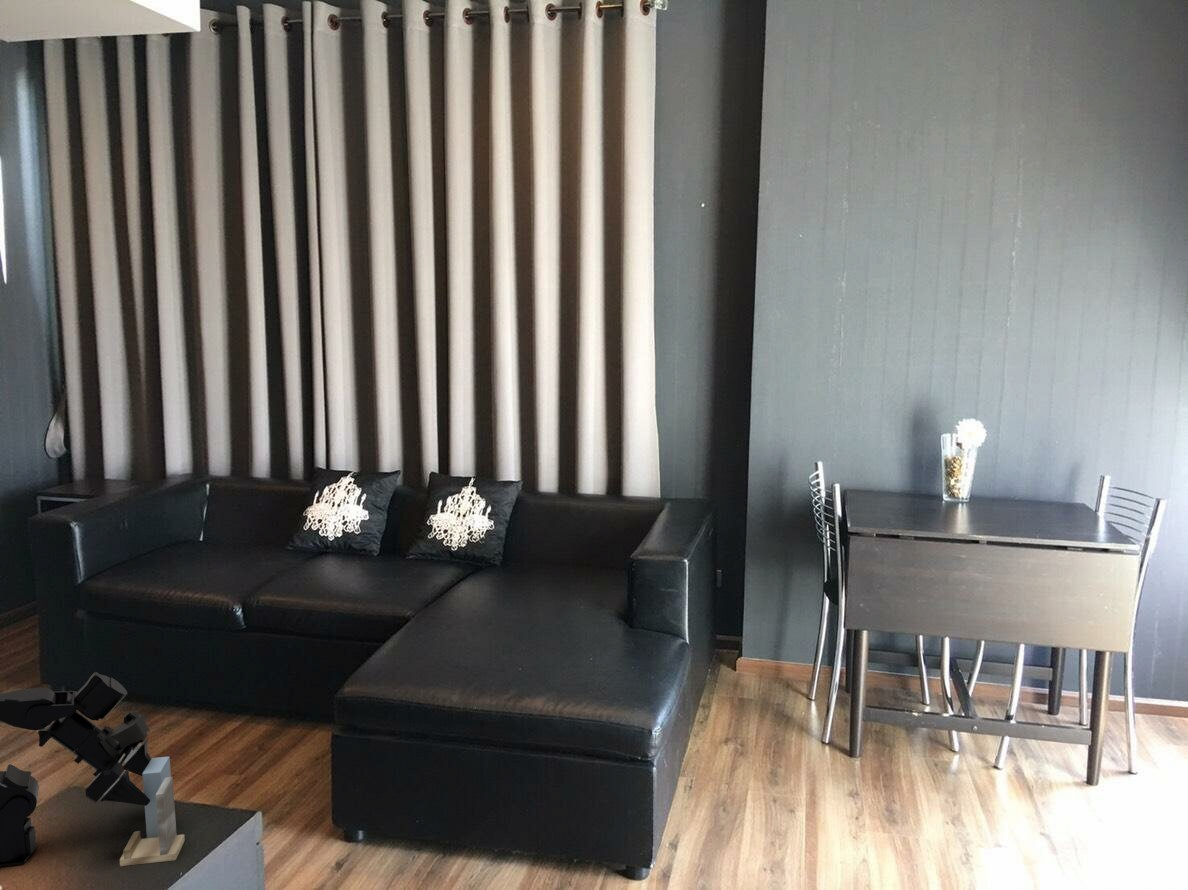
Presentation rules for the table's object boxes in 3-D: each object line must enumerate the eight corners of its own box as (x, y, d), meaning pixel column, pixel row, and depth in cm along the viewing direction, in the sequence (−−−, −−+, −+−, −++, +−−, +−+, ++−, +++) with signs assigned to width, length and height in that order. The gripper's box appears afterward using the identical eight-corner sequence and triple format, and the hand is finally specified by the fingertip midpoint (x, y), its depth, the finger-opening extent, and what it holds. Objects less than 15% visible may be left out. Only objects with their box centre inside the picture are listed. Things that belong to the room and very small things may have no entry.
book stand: (120, 866, 162) (114, 798, 161) (131, 846, 169) (126, 781, 167) (175, 860, 164) (171, 793, 163) (184, 840, 170) (180, 776, 169)
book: (147, 842, 170) (142, 773, 168) (156, 824, 176) (152, 758, 175) (165, 840, 170) (160, 772, 169) (174, 822, 177) (169, 756, 175)
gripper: (100, 726, 160) (173, 781, 164) (131, 687, 179) (197, 737, 182) (53, 776, 160) (128, 829, 163) (90, 731, 178) (157, 780, 181)
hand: (155, 791), depth 172 cm, fingers open, 9 cm apart
